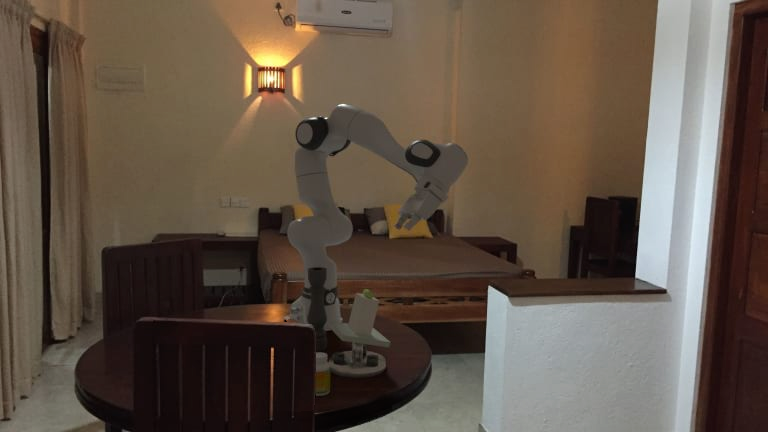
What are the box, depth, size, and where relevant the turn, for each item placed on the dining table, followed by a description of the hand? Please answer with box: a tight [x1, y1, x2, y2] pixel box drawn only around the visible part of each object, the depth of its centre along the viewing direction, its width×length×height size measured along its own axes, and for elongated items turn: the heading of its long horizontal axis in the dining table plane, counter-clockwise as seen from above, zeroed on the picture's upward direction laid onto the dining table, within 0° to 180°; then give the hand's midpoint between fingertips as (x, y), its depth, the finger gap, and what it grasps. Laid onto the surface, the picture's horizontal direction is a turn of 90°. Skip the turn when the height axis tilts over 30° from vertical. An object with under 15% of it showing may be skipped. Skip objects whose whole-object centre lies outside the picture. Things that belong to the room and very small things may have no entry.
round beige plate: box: [328, 342, 387, 379], centre depth 159 cm, size 16×16×8 cm
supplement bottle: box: [315, 351, 331, 397], centre depth 142 cm, size 5×5×10 cm
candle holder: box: [307, 267, 328, 353], centre depth 173 cm, size 6×6×25 cm
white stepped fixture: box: [328, 288, 391, 348], centre depth 159 cm, size 14×14×13 cm
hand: (401, 228), depth 162 cm, fingers open, 8 cm apart
